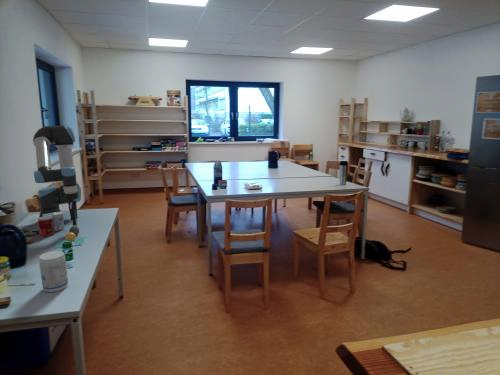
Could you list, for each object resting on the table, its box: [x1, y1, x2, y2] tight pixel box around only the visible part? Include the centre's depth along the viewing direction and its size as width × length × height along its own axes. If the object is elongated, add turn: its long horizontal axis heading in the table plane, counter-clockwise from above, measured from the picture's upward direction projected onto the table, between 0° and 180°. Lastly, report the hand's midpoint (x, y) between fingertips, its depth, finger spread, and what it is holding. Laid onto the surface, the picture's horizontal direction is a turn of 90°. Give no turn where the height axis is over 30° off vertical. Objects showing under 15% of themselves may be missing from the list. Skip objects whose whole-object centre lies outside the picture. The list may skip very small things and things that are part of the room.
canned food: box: [37, 216, 56, 238], centre depth 218 cm, size 8×8×11 cm
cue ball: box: [68, 225, 80, 235], centre depth 217 cm, size 6×6×6 cm
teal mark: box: [54, 236, 86, 249], centre depth 205 cm, size 14×14×1 cm
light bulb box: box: [43, 211, 65, 232], centre depth 227 cm, size 11×7×11 cm, turn 131°
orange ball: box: [64, 232, 77, 242], centre depth 206 cm, size 6×6×6 cm
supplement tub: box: [38, 250, 69, 293], centre depth 150 cm, size 10×10×15 cm
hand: (75, 229), depth 222 cm, fingers closed
